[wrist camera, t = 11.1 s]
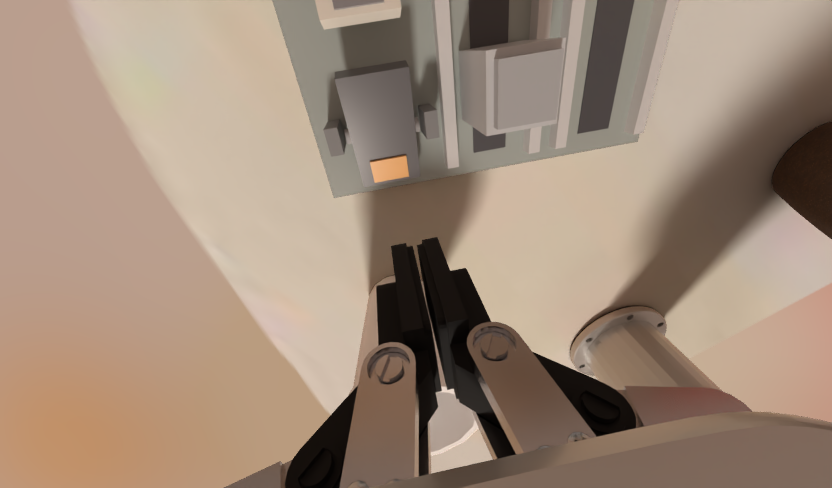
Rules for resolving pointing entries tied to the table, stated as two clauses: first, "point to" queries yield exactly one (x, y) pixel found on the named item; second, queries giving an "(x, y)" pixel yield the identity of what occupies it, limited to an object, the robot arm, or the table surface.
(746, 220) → the table surface
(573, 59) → the panel
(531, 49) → the slider grey
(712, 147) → the table surface
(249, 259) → the table surface
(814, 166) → the plant pot
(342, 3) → the rocker ivory
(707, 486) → the robot arm
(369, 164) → the rocker black
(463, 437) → the foam cup
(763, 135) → the table surface
